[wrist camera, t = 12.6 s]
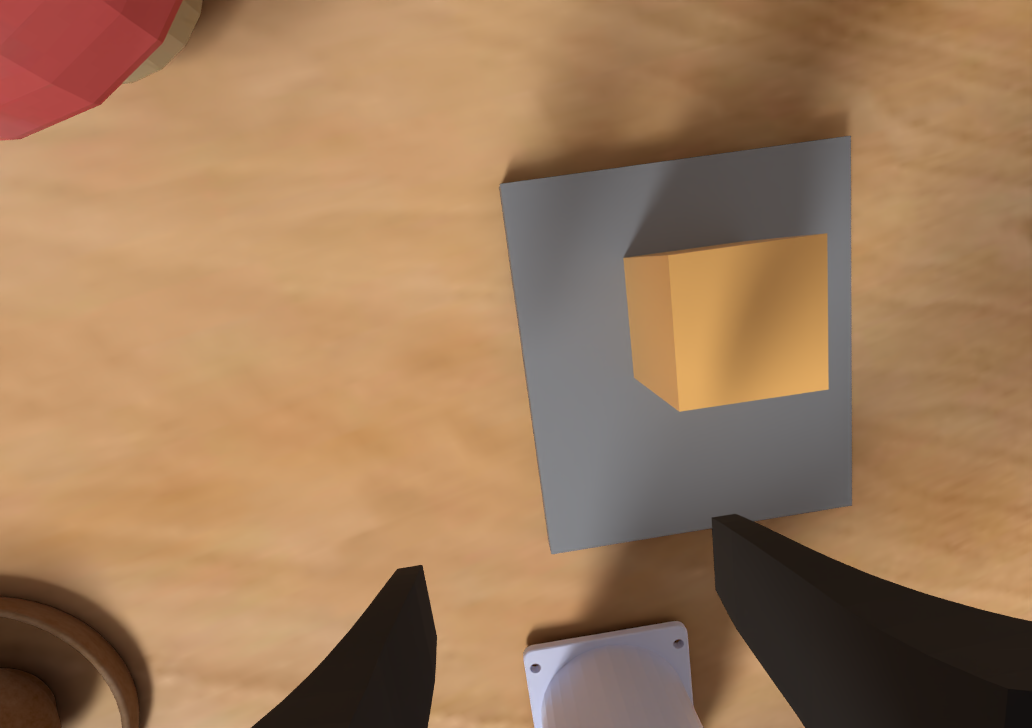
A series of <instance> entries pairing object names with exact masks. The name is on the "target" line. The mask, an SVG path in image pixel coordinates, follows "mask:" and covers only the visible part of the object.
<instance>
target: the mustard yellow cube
mask: <svg viewBox="0 0 1032 728" xmlns="http://www.w3.org/2000/svg"><path fill="white" fill-rule="evenodd" d="M623 260H624V271H625V283H626V294H627V305H628V316H629V328H630V339H631V350H632V361H633V373H634V378H635V379H636V380H638V381H639V382H640V383H642V384H643V385H644V386H646V387H647V388H648V389H650V390H651V391H652V392H654V393H655V394H656V395H658V396H659V397H660V398H662V399H663V400H664V401H666V402H667V403H668V404H670V405H671V406H672V407H674V408H675V409H676V410H678V411H679V412H681V411H688V410H694V409H701V408H708V407H714V406H721V405H728V404H734V403H741V402H748V401H755V400H761V399H768V398H775V397H781V396H788V395H795V394H801V393H808V392H815V391H821V390H828V389H829V381H828V252H827V233H825V234H814V235H804V236H793V237H783V238H772V239H762V240H752V241H742V242H735V243H728V244H720V245H713V246H706V247H699V248H691V249H684V250H677V251H670V252H662V253H655V254H648V255H641V256H634V257H626V258H623Z"/></svg>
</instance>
